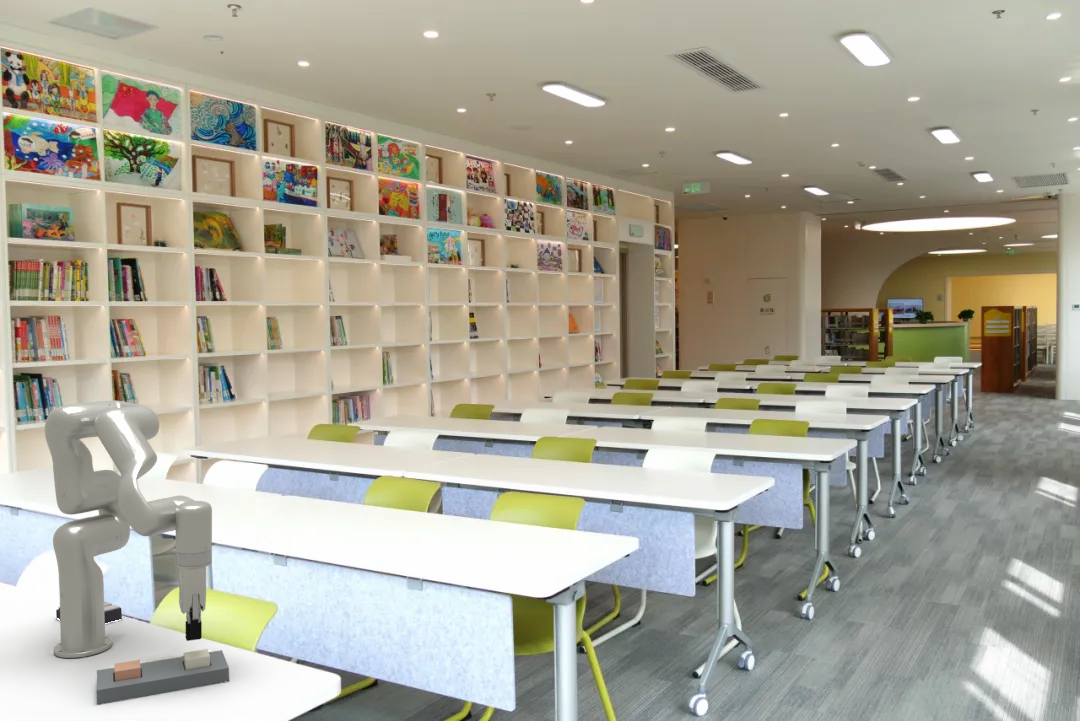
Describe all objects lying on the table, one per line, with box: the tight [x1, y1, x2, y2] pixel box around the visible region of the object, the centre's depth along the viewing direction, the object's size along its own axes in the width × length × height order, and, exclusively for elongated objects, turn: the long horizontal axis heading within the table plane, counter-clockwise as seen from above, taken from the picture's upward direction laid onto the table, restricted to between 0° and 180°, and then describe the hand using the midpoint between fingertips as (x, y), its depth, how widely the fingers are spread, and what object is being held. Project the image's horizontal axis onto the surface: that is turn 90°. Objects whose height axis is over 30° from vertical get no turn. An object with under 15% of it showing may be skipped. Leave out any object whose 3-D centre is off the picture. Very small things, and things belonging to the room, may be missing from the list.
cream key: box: [183, 648, 210, 670], centre depth 197 cm, size 5×5×4 cm
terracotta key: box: [114, 659, 141, 682], centre depth 191 cm, size 5×5×4 cm
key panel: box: [96, 649, 230, 705], centre depth 194 cm, size 12×26×3 cm, turn 116°
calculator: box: [55, 600, 123, 623], centre depth 237 cm, size 11×4×15 cm
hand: (193, 638), depth 197 cm, fingers closed
